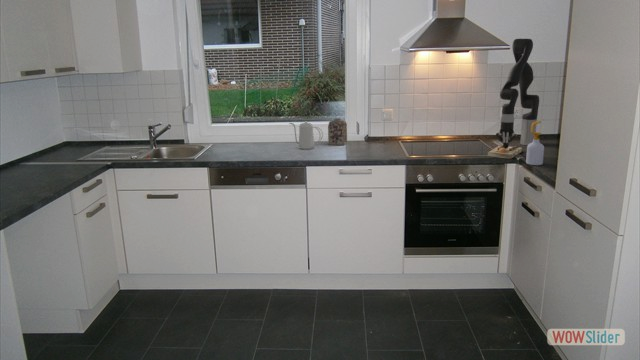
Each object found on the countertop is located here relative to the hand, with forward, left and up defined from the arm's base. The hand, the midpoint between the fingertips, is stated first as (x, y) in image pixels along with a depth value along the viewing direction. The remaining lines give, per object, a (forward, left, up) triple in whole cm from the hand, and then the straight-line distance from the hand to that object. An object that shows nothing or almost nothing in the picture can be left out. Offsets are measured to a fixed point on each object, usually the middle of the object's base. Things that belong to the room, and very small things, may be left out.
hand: (505, 148), depth 326 cm
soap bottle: (+18, +22, -4) cm, 29 cm away
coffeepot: (+46, -122, -4) cm, 130 cm away
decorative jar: (+23, -111, -4) cm, 113 cm away
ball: (+6, 0, -1) cm, 6 cm away
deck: (0, 0, -3) cm, 3 cm away
